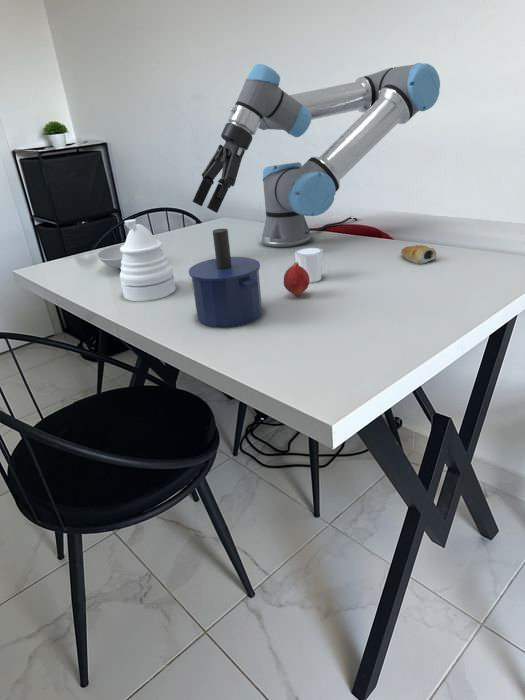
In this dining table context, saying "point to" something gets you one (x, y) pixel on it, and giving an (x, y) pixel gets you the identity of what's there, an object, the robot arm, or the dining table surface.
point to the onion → (296, 279)
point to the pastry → (419, 254)
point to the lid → (223, 262)
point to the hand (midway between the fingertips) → (204, 207)
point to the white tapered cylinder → (311, 262)
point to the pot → (228, 301)
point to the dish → (111, 256)
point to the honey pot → (144, 266)
